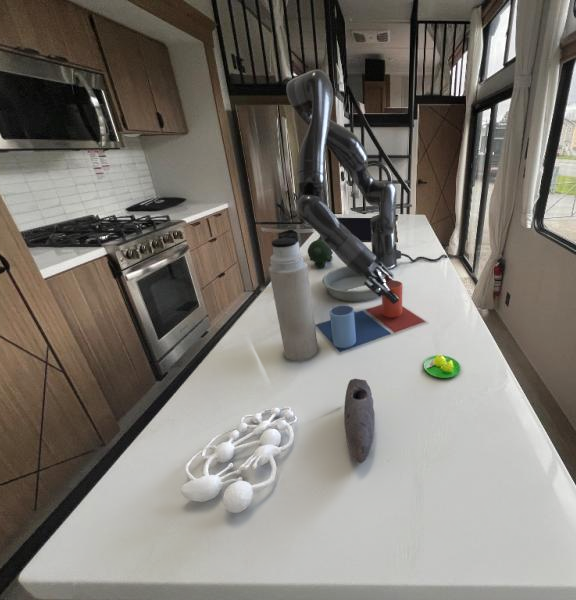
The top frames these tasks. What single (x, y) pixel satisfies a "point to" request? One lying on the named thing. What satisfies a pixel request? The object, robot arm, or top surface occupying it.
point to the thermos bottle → (293, 300)
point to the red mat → (396, 319)
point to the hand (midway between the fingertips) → (398, 296)
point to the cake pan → (347, 285)
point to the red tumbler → (387, 306)
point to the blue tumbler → (343, 326)
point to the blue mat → (358, 330)
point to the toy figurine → (319, 253)
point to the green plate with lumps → (443, 366)
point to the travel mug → (290, 236)
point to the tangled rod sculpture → (240, 491)
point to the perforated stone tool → (359, 419)
